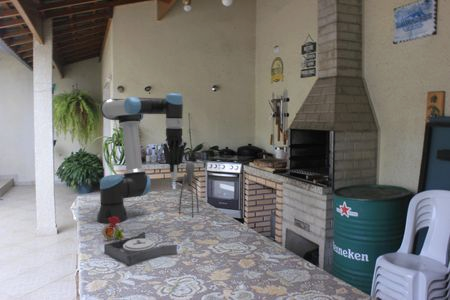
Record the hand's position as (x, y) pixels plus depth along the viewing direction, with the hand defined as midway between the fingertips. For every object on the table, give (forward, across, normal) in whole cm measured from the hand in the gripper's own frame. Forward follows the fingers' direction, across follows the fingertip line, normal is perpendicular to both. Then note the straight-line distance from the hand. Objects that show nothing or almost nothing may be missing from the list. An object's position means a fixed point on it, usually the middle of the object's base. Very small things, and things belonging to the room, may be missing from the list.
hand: (174, 178), depth 175 cm
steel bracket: (+26, -25, -10) cm, 37 cm away
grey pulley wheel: (+27, -25, -10) cm, 38 cm away
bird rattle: (+27, -25, +11) cm, 38 cm away
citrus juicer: (+27, +26, +22) cm, 43 cm away
